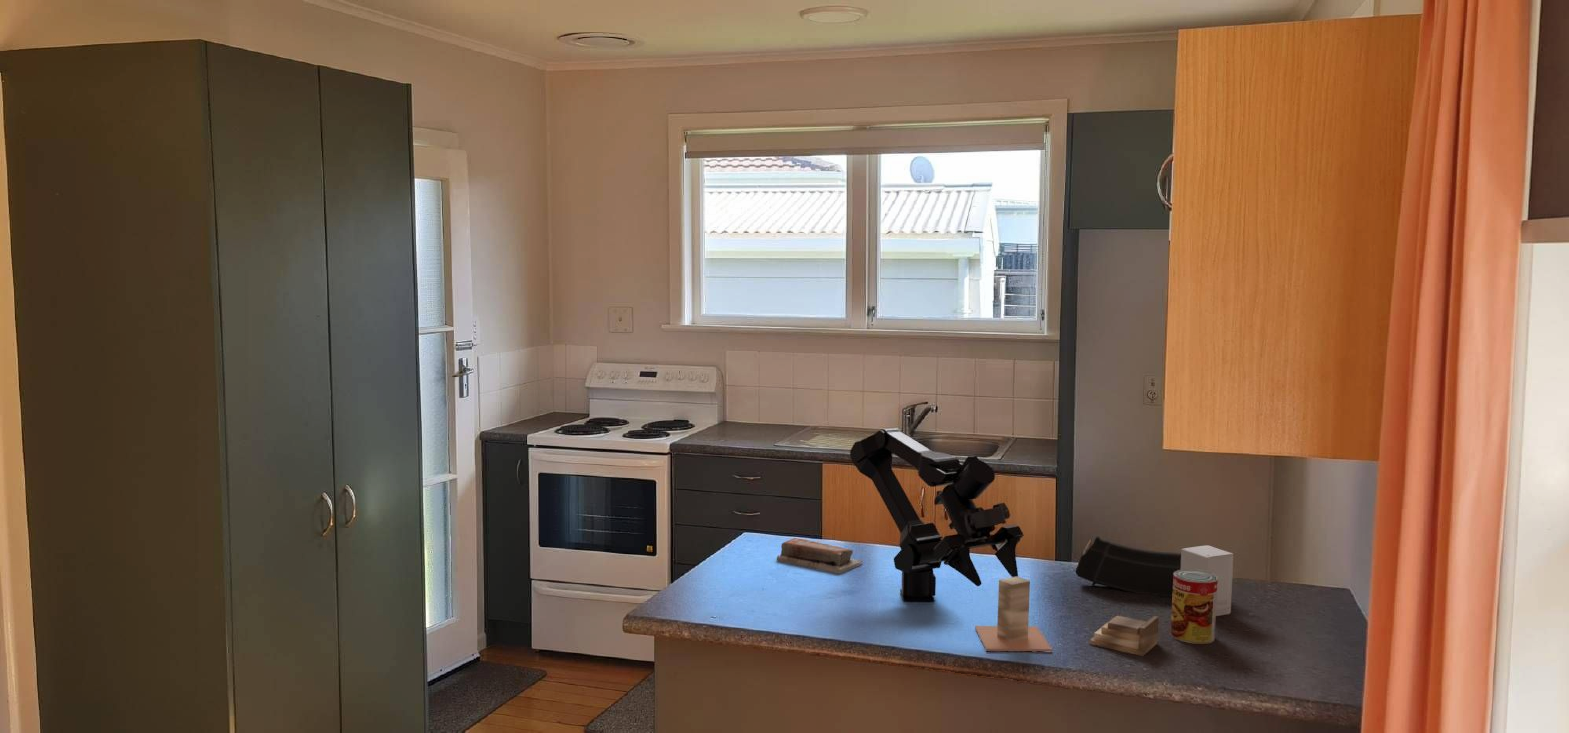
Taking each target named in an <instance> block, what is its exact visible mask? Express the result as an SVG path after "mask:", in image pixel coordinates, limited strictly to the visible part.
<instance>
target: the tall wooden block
mask: <svg viewBox="0 0 1569 733" xmlns="http://www.w3.org/2000/svg"><path fill="white" fill-rule="evenodd" d="M1030 587H1031V581H1030V580H1028V579H1025V578H1023V577H1020V576H1019V575H1018V576H1016V577H1012V576H1009V577H1007V578H1005V577H1004V578H1000V579H998V595H997V596H998V599H997V625H996V626H997V637H999V638H1002V639H1004V640H1006V641H1008V642H1013V641H1017V640H1022V639H1026V638H1028V626H1029V619H1030V618H1029V617H1030V616H1029V615H1030V593H1031V592H1030V591H1031V590H1030V589H1031V588H1030Z"/></svg>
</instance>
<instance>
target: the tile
mask: <svg viewBox="0 0 1569 733" xmlns="http://www.w3.org/2000/svg"><path fill="white" fill-rule="evenodd" d="M975 629H976V630H975ZM974 630H975V632H976V631H977V632H976V633H978V634H979V636H978V638H979V637H980V638H979V640H980V639H981V640H980V642H981V641H982V642H981V644H982V643H983V644H982V646H983V645H984V646H983V647H985V648H984V650H985V649H986V650H985V651H1052V652H1053V648H1052V647H1051V645H1050V644H1049V642H1048V641H1047V639H1046V638H1045V636H1044V634H1043V633H1042V632H1041V630H1040V629H1039V626H1037V625H1036V626H1031V625H1028V638H1026V639H1022V640H1017V641H1013V642H1008V641H1006V640H1004V639H1002V638H999V637H997V625H975V626H974ZM978 634H977V635H978Z"/></svg>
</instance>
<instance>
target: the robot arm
mask: <svg viewBox="0 0 1569 733" xmlns="http://www.w3.org/2000/svg"><path fill="white" fill-rule="evenodd" d="M893 455H895V456H896V457H898V458H899V459H900V460H903V461H904V462H906V463H907V464H908V465H910V466H911V467H913V468H915V470H916V471H917V475H918V477H919V478H920V479H921V480H922V481H923V482H924V483H925V484H926V485H927V486H928V487H933V488H934V487H943V486H944V487H943V489H941V490H937V491H936V493H935V494H936V495H935V497H934V500H933V503H934V505H935V506H937V505H939V506H940V505H942V506H943V507H944V510H945V512H946V514H947V515H948V517H949V519H950V520H949V521H951V522H950V523H949V524H948V527H949V530H955V531H956V533H955V534H950V535H945V536H944V537H943V536H942V535H941V534H940V532H939V531H938V528H937V526H936V525H935V524H934V523H933V522H928V523H925V522H923V521H922V520H921V519H920V517H919V515H918V513H917V512H916V510H915V508H914V506H913V504H912V503H911V501H910V498H909V497H908V495H907V493H906V492H905V490H904V488H903V487H902V486H903V485H901V483H900V481H899V479H898V478H897V476H896V474H895V472H894V471H893V468H892V466H893V460H894V458H893ZM849 456H850V460H851V462H852V463H853V465H854V466H855V468H856V469H857V470H858V471H859V473H861V475H863V476H865V477H867V478H868V479H870V480H871V481H872V483H873V485H874V486H875V488H876V490H877V492H878V494H879V496H880V497H881V499H882V501H883V503H884V504H885V506H886V508H887V510H888V512H889V514H890V516H891V517H892V520H893V521H894V523H895V524H896V527H897V528H898V530H899V533H900V537H899V548H900V550H899V551H898V553H897V554H896V555H895V556H894V557H893V563H894V564H893V565H894V568H895V569H896V570H898V571H900V572H901V588H900V590H899V593H900V595H901V598H902V601H904V602H934V601H935V596H936V588H937V586H936V583H937V577H936V575H935V573H934V569H940V568H941V565H942V562H943V564H944V565H945V566H949V567H951V568H952V569H953V570H955V571H957V572H958V573H960V574H961V575H962V576H963V577H965V578H966V579H968V580H969V581H970V582H971V583H972V584H974V585H975V586H977V587H980V586H981V585H982V581H981V577H980V575H979V573H978V571H977V569H976V567H975V565H974V562H973V561H972V559H971V555H970V554H971V553H970V552H971V551H970V550H972V549H978V548H983V547H988V546H989V547H991V548H992V550H994V551H995V553H994V555H995V557H996V558H997V560H998V561H999V562H1000V564H1001V565H1002V566H1003V568H1004V569H1005V570H1006V572H1007V573H1008V575H1009V576H1010V577H1016V576H1018V577H1019V571H1018V563H1017V557H1016V548H1017V545H1018V543H1019V542H1020V541H1021V539H1022V538H1023V537H1024V535H1025V534H1024V532H1023V531H1022V529H1021V527H1020V526H1019V525H1017V524H1012V525H1011V524H1010V525H1006V526H1005V525H1004V524H1007V521H1006V520H1008V519H1010V517H1011V514H1010V509H1009V508H1008V506H1007V505H1006V503H1005V502H999V503H997V504H993V505H992V508H987V509H984V508H983V507H981V506H980V507H977V505H976V503H975V501H974V500H976V499H978V498H980V496H981V495H982V494H983V493H984V492H985V491H986V490H987V489H988V488H989V486H990V485H991V484H992V483H993V482H994V480H995V477H996V476H995V474H996V473H995V471H994V469H993V467H992V466H990V465H989V464H987V463H986V462H985V461H983V460H980V459H979V458H978V456H977V455H970V456H969V455H968V456H967V457H966V459H965V460H964V462H963V463H962V462H961V461H960V460H959V459H958V457H956V456H954V455H952V454H948V453H945V452H939V451H933V450H931V449H929V448H928V447H926V446H924V445H923V444H922V443H919V442H918V441H916V440H915V439H913V438H911V437H910V436H909V435H906V434H905V433H903V432H902V430H901V428H900V429H899V428H897V427H890V428H881V429H880V430H877V431H876V432H875V433H874V434H872V435H870V436H868V437H865V438H863V439H861V440H857V441H855V442H854V443H853V445H852V446H851V448H850V451H849ZM1000 524H1002V525H1003V526H1001V527H1000V528H998V530H997V531H996V532H995V533H994V534H991V532H992V533H993V532H994V531H995V530H996V529H997V527H996V526H998V525H1000Z"/></svg>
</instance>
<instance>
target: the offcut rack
mask: <svg viewBox="0 0 1569 733" xmlns="http://www.w3.org/2000/svg"><path fill="white" fill-rule="evenodd" d="M1158 630H1159V616H1156V615H1153V616H1152V617H1151V618H1150V619H1148V620H1147V621H1145V620H1140V619H1136V618H1130V617H1127V616H1126V617H1125V616H1122V615H1116V616H1114V617H1113V618H1111V619H1110V620H1108V621H1107V622H1105V624H1104V625H1102V626H1101V627H1099V629H1097V631H1095V632H1094V633H1093V637H1091V638H1090V639H1089V645H1092V646H1096V645H1097V647H1101V648H1104V649H1105V648H1106V649H1110V650H1115V651H1119V652H1122V653H1127V654H1131V655H1136V656H1139V657H1144V656H1145V655H1146V654H1147V653H1149V651H1150V650H1152V649H1153V648H1154V647H1155V646H1156V645H1157V644H1158V632H1159V631H1158Z"/></svg>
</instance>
